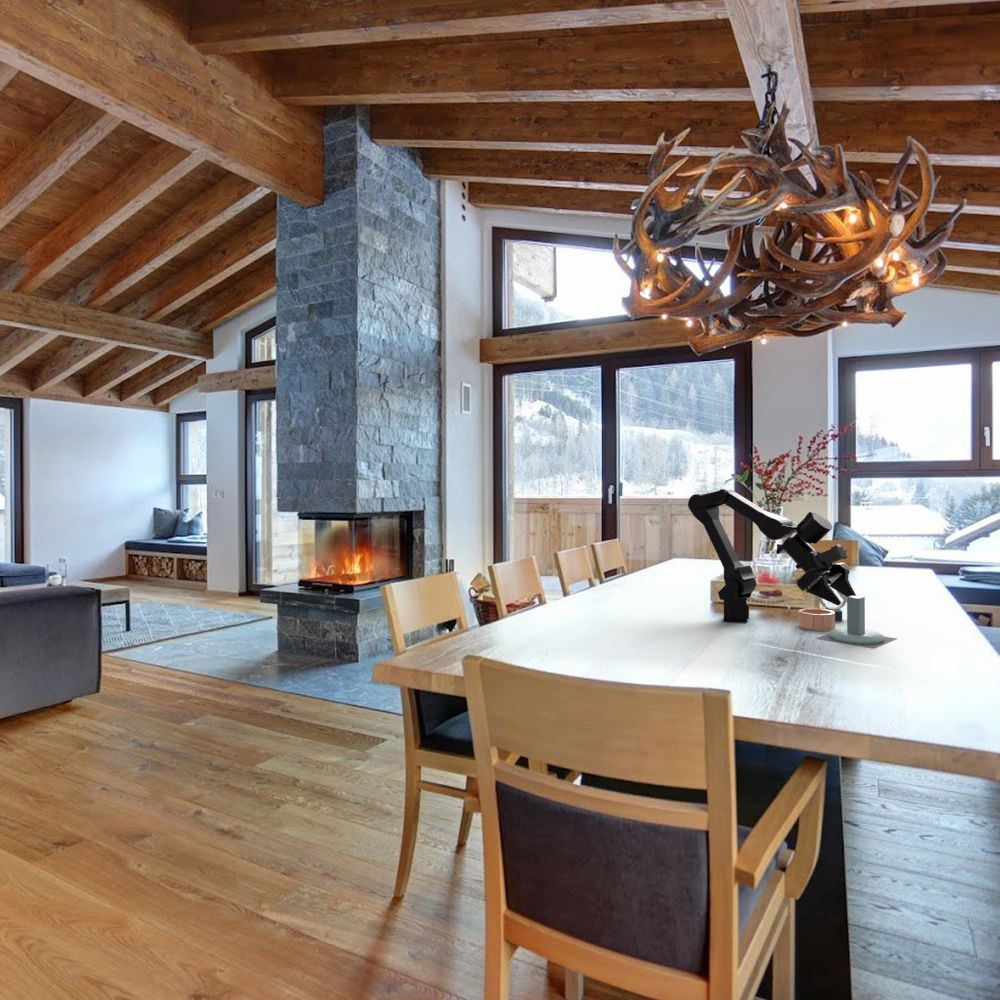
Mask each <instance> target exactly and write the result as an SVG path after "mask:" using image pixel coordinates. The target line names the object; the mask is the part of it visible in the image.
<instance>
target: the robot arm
mask: <svg viewBox="0 0 1000 1000" xmlns="http://www.w3.org/2000/svg"><path fill="white" fill-rule="evenodd" d="M723 505H725V506H727V507H729V508H730V509H732V510H733V511H735V512H737V513H738V514H740V515H741V516H743V517H745V518H746V519H747V520H749V521H751V522H752V523H754V525H756V526H757V528H758V530H759V532H761V533H762V534H763V535H764V536H765V537H766V538H768V539H769V540H771V541H777V540H784V541H783V542H782V543H781V542H780V543H777V544H776V551H775V552H776V555H782V554H787V555H788V556H789V557H790V558H791V560H792V561H794V563H795V564H796V565H795V568H796V569H797V570H802V571H803V573H804V574H803V575H801V576H800V577H799V578H798V579H797V580H796V587H798V588H799V590H800V591H801V592H804V591H805V592H806V593H807V594H812V595H814V596H816V597H817V596H818V597H820V598H821V599H822V600H825V601H827V602H829V603H831V604H834V605H836V606H839V605H841V604H842V601H841V600H840V598H839V597H838V596H837V595H836V593H835V591H836V590H837V591H838V592H840V593H842V594H843V595H845V596H846V597H849V596H852V595H853V596H857V594H856V593H855V590H854V589H853V587H852V584H851V583H850V580H849V574H850V573H851V571H850V570H851V567H849V565H848V564H847V563H845V562H838V561H840V560H845V559H847V558H848V559H849V557H848V555H847V553H848V549H846V548H845V546H843V545H841V544H838V543H837V544H835V545H833V546H831V548H830V549H828V550H825V551H821V550H815V549H814V548H813V547H812V546H811V545H810V544H815V545H817V544H818V543H819V542H820V541H821V540H822V539H823V538H825V537H826V536H827V535H828V533H829V532H830V531H832V530H833V525H832V523H831V522H830V521H829V520H828V519H827V518H824V517H823V516H822V515H819V514H817V513H816V512H815V511H809V512H808V513H807V514H806V515H805V516H804V518H803V519H802V520H801V521H800V522H799V523H797V522H796V523H795V522H793V521H792V520H791V519H790V518H787V517H785V516H782V515H779V514H778V513H777V514H776V513H773V512H769V511H767V510H765V509H763V508H762V507H760V506H758V505H757V504H755V503H754V502H751V500H749V499H747V498H745V497H744V496H743V495H741V494H739V493H737V492H736V491H735V490H734V489H732V488H721V489H719V490H717V491H712V492H708V493H695V494H694V493H693V494H692V495H691V496H690V497H689V499H688V502H687V507H688V509H689V511H690V512H691V514H692V515H693V517H694V518H695V519H696V520H698V521H699V522H700V523H701V524H702V526H703V527H704V530H705V531H706V534H707V536H708V538H709V540H710V542H711V544H712V546H713V549H714V551H715V552H716V554H717V557H718V559H719V561H720V564H721V565H722V567H723V568H722V569H723V581H724V584H725V585H724V586H723V587H722V588H721V589H720V590H719V591H718V592H717V595H718V598H719V600H721V601H723V618H722V621H723V622H736V623H748V620H749V619H750V604H749V603H747V601H748V600H747V599H750V598H751V597H752V594H753V592H754V591H755V589H756V587H757V580H756V579H757V576H756V575H755V574H754V571H753V569H752V567H751V565H750V564H748V565H743V563H742V562H741V561H740V559H739V557H738V555H737V552H736V550H735V549H734V547H733V545H732V542H731V540H730V539H729V536H728V535H727V534H728V533H727V532H726V531H725V529H724V526H723V524H722V523H721V520H720V508H719V507H721V506H723ZM835 562H838V563H835ZM833 589H834V590H833ZM837 591H836V592H837ZM838 592H837V593H838Z"/></svg>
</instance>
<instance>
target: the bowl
mask: <svg viewBox="0 0 1000 1000" xmlns="http://www.w3.org/2000/svg"><path fill="white" fill-rule="evenodd" d="M798 627H799V628H802V629H806V630H812V631H821V632H822V631H824V632H825V631H831V630H833V629H836V621H835V612H834V611H831V610H826V609H822V608H816V607H815V608H813V607H811V608H809V607H808V608H807V607H806V608H801V609H798Z"/></svg>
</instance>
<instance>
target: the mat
mask: <svg viewBox="0 0 1000 1000" xmlns="http://www.w3.org/2000/svg"><path fill="white" fill-rule="evenodd" d="M814 639H816V640H820V641H826V642H833V643H839V644H843V645H844V644H845V645H850V646H857V647H863V648H868V649H873V650H874V649H877V648H879V647H882V646H884V645H886V644H888V643H889V644H890V643H892V642H894V641H896V640H898V638H896V637H891V636H890V637H889V636H884V641H883V642H882V643H879V644H852V643H845V642H840V641H836V640H833V639H831V638H830V637H829V633H827V634H823V635H821V636H818V637H815V638H814Z"/></svg>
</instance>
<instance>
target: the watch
mask: <svg viewBox="0 0 1000 1000" xmlns="http://www.w3.org/2000/svg"><path fill="white" fill-rule="evenodd" d="M835 591H836V593H837V594H838V595H839V597H840V598H841V599H842V600H843V601H841V604H840V605H838V606H834V607H830V606H827V605H826V604H827V603H825V602H824V600H823V599H822V598H820V597H818V596H816V598H817V600H818V601H819V603H820V605H821V606H822V607H821V609H826V610H831V611H834V612H835V622H843V610H842V609H843V608H844V607H845V605H847V597H846V596H845V595H843V594H842V593H840V592H838V591H837V590H835Z"/></svg>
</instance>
